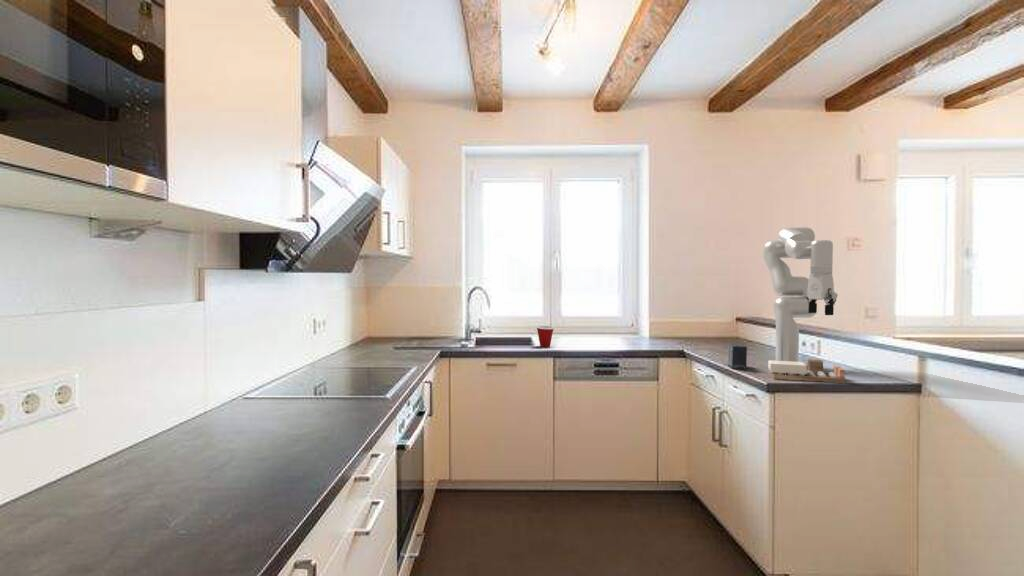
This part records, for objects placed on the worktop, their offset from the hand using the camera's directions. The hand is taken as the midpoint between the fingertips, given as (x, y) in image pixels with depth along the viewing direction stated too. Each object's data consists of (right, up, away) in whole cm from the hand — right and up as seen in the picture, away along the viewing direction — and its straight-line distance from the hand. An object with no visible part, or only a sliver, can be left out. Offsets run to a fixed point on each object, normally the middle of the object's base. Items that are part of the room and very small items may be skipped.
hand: (820, 314), depth 206 cm
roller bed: (-3, -27, +5) cm, 27 cm away
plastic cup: (-104, -24, +97) cm, 144 cm away
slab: (-10, -24, +7) cm, 27 cm away
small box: (-21, -26, +29) cm, 44 cm away
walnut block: (+5, -26, +12) cm, 29 cm away
